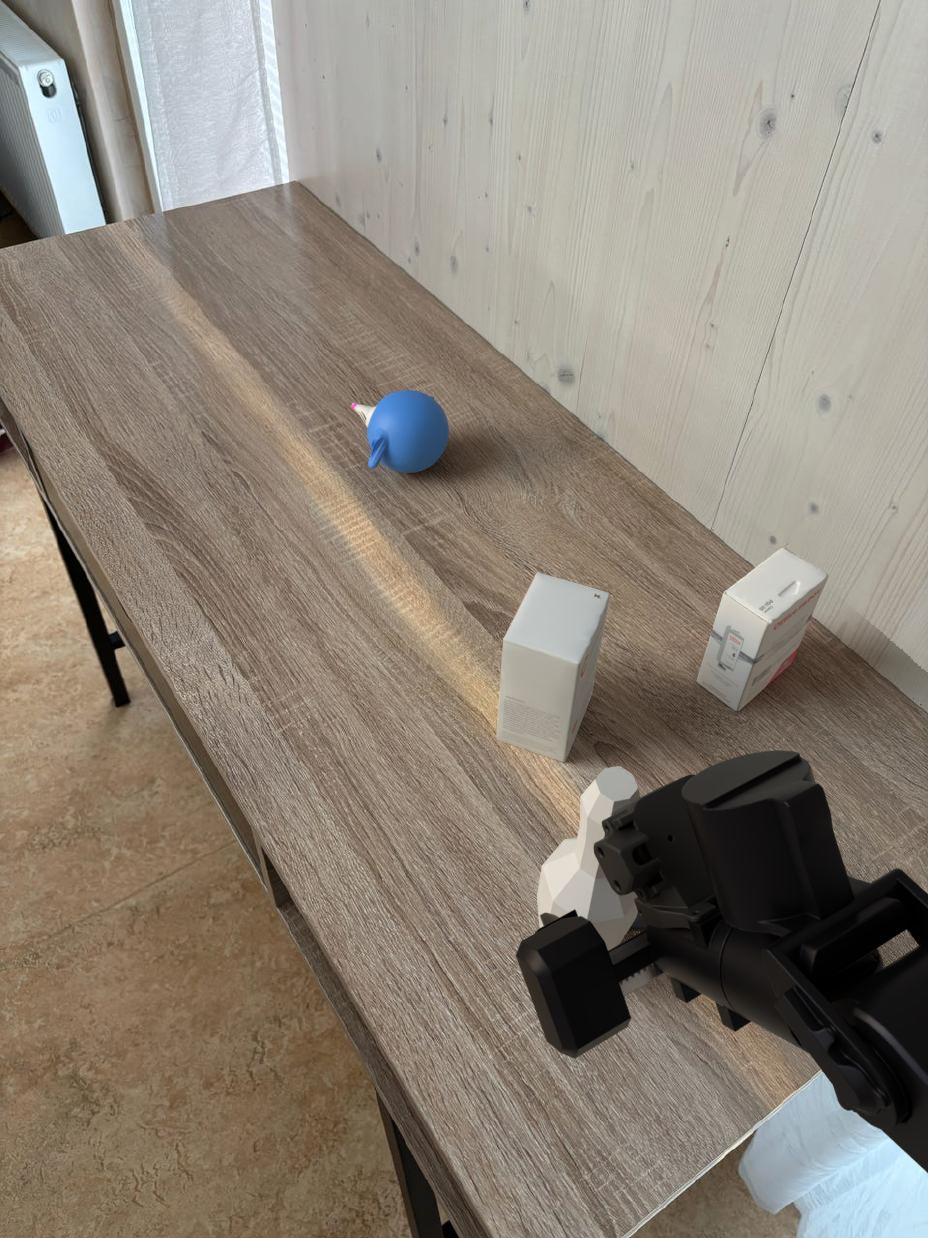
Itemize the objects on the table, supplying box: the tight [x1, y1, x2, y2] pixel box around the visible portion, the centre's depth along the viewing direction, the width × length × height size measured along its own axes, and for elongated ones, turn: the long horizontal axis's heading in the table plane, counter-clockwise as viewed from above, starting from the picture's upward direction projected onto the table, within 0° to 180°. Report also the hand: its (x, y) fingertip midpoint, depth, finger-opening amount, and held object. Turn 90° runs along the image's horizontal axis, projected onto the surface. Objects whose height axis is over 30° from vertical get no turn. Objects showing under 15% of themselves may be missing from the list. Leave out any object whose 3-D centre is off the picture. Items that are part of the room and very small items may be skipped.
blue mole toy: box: [350, 389, 450, 474], centre depth 108 cm, size 12×12×8 cm
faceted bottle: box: [536, 765, 641, 950], centre depth 65 cm, size 6×6×22 cm
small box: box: [495, 571, 611, 763], centre depth 82 cm, size 8×6×13 cm
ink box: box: [696, 547, 830, 712], centre depth 87 cm, size 9×5×12 cm, turn 133°
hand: (606, 887), depth 63 cm, fingers open, 9 cm apart
